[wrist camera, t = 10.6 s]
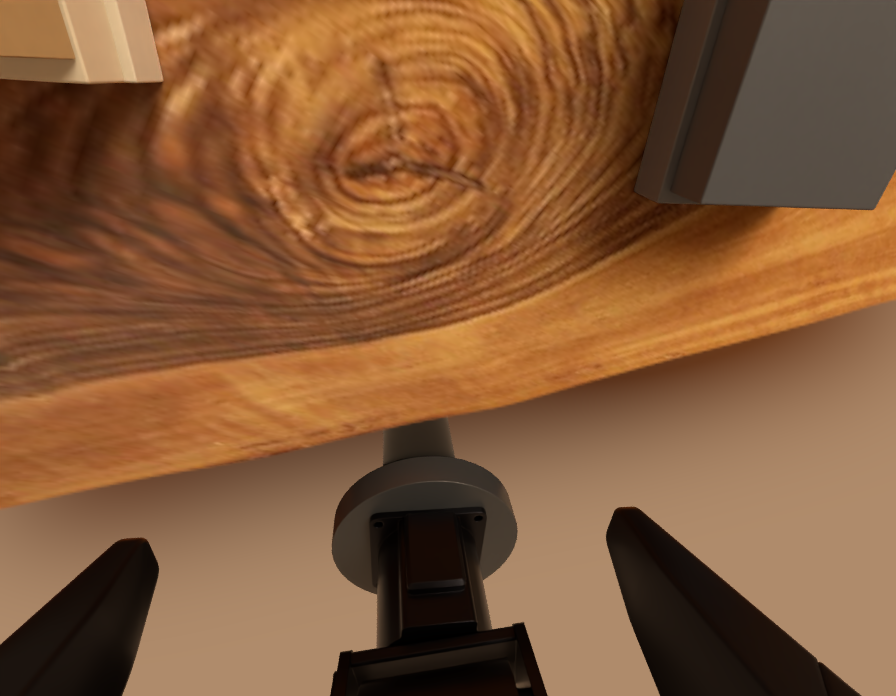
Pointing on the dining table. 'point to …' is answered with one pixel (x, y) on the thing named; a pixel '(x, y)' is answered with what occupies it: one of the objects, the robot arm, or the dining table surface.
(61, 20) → the beige rectangular block
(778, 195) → the grey book stack
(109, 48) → the cream book stack
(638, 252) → the dining table surface
